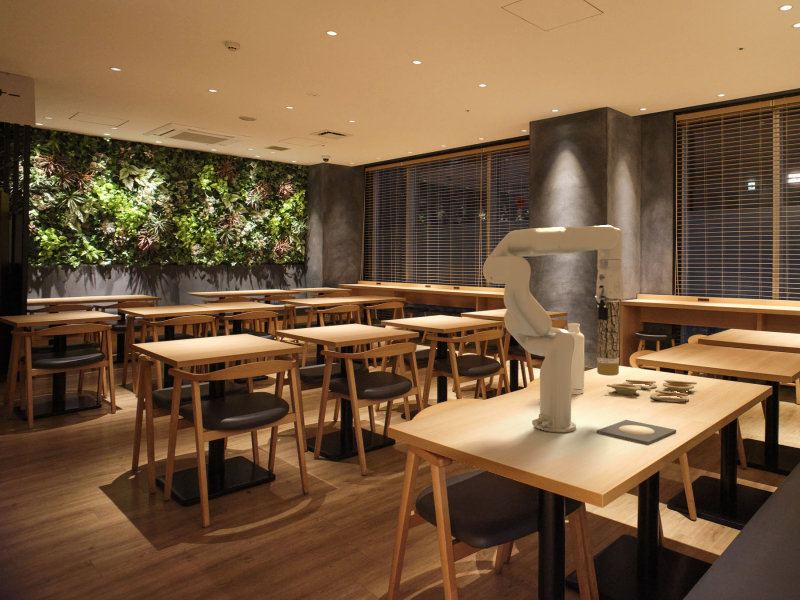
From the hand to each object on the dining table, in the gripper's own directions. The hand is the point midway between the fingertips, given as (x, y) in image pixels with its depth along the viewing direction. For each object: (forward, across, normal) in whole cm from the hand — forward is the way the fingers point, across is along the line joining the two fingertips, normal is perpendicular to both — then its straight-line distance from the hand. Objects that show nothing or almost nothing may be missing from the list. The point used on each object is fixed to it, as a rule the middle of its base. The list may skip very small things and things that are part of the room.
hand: (608, 318), depth 188 cm
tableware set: (+34, +50, +7) cm, 61 cm away
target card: (+34, -10, -15) cm, 38 cm away
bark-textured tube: (+19, 0, 0) cm, 19 cm away
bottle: (+34, +28, +29) cm, 53 cm away
